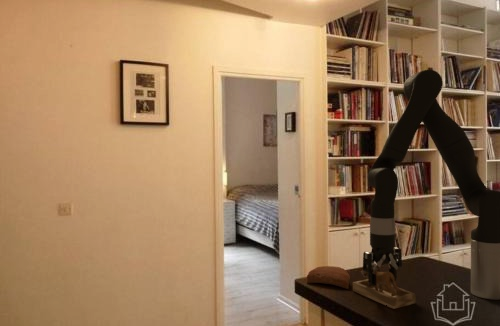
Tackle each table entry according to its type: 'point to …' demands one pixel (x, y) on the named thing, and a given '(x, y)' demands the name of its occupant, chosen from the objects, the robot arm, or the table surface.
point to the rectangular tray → (384, 294)
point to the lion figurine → (384, 281)
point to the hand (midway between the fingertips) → (382, 283)
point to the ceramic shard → (329, 276)
